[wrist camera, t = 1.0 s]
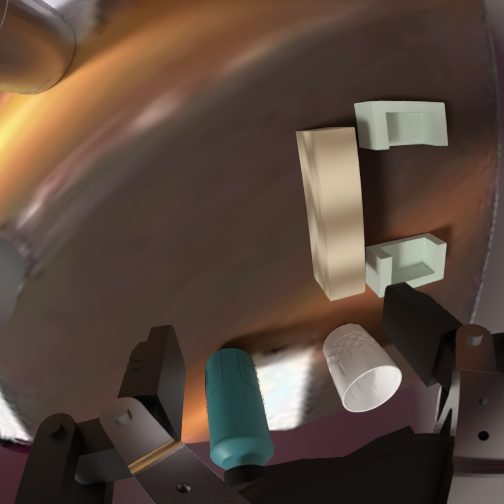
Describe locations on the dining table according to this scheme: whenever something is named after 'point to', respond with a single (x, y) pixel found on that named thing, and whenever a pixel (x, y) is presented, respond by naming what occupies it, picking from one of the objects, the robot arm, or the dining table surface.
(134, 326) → the dining table surface
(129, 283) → the dining table surface
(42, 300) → the dining table surface
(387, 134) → the end cap
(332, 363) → the white cup
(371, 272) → the end cap
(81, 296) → the dining table surface
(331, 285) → the wooden block
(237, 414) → the beverage bottle
